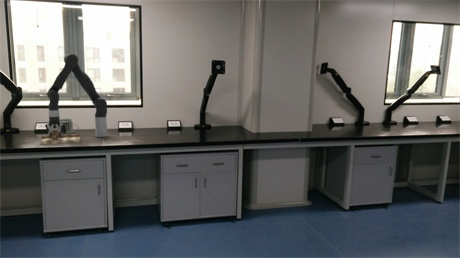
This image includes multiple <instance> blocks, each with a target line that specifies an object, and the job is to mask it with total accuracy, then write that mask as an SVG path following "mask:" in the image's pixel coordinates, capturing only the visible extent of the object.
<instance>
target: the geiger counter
mask: <svg viewBox="0 0 460 258" xmlns="http://www.w3.org/2000/svg"><path fill="white" fill-rule="evenodd" d="M72 120H73V119H72V118H71V117H67V118H60V123H61V124H64V127H63V131H61V132H60V133H61V135H69V134H74V132H75V131H77V130H79V126H78V125H77V124H76V123H73V121H72ZM47 124H49V121H48V122H47ZM74 125H75V126H76V127H77V129H75V128H74ZM61 128H62V126H61V125H60V126H59V129H60V130H61ZM48 129H49V130H50V129H51V127H50V126H49V125H48ZM53 129H57V128H53ZM47 135H48V136H49V135H50V132H48V134H47Z"/></svg>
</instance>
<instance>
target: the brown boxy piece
mask: <svg viewBox="0 0 460 258" xmlns="http://www.w3.org/2000/svg"><path fill="white" fill-rule="evenodd" d="M51 133H52V138H55V139H56V138H59V131H58V129H52V130H51Z"/></svg>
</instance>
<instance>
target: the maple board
mask: <svg viewBox="0 0 460 258" xmlns="http://www.w3.org/2000/svg"><path fill="white" fill-rule="evenodd" d="M58 143H59V144H71V143H72V144H73V143H81V136H80V133H76V134H75V133H72V134H61V135H60V137H59V138H56V139H55V138H52V137H51V136H50V135H49V134H48V135H42V136H41V141H40V145H55V144H56V145H57V144H58Z"/></svg>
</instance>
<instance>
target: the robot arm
mask: <svg viewBox="0 0 460 258" xmlns="http://www.w3.org/2000/svg"><path fill="white" fill-rule="evenodd" d="M63 62H64V63H65V64H64V66H63V68H62V69H61V71H60V72H59V73H58V75H57V76H56V78H55V80H54V81H53V83H52V85H51V86H50V87H49V89H48V91H47V94H46V97H47V98H48V99H49V103H48V122H49V124H48V123H46V124H44V126H45V129H46V132H50V136H51V137H52V133H51V130H52V129H53V128H57V129H58V131H59V137H60V135H62V134H61V133H60V132H61V131H63V127H64V124H61V123H60V119H61V117H60V110H59V109H60V108H59V107H60V106H59V102H60V95H59V92H60V90H62V88H63V86H64V85H65V84H66V82H67V80H68V78H69V75H70V74H71V72H72V73H73V75H74V77H75V79H76V81H77V82H78V83H79V85H80V86H81V87H82V89H83V91H84V92H85V93H86V94H87V96H88V97H89V99H90V101H91V103H92V104H93V106H94V108H95V113H94V122H95V123H94V124H95V125H94V126H95V137H96V138H104V137H106V138H107V137H108V124H107V123H108V120H107V114H108V103H107V102H108V101H106V99H105V98H102V97H101V96H100V95H99V93H98V92H97V91H96V88H95V84H94V83H93V81H92V80H91V78H90V76H89V75H88V74H87V73H86V72H85V70H83V69H82V68H81V66H80V65H79V57H78V55H76V54H74V53H68V54H65V55H64V57H63ZM48 125H49V126H50V127H51V129H50V130H49V129H48ZM60 125H61V126H62V128H61V130H60V129H59V126H60Z"/></svg>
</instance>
